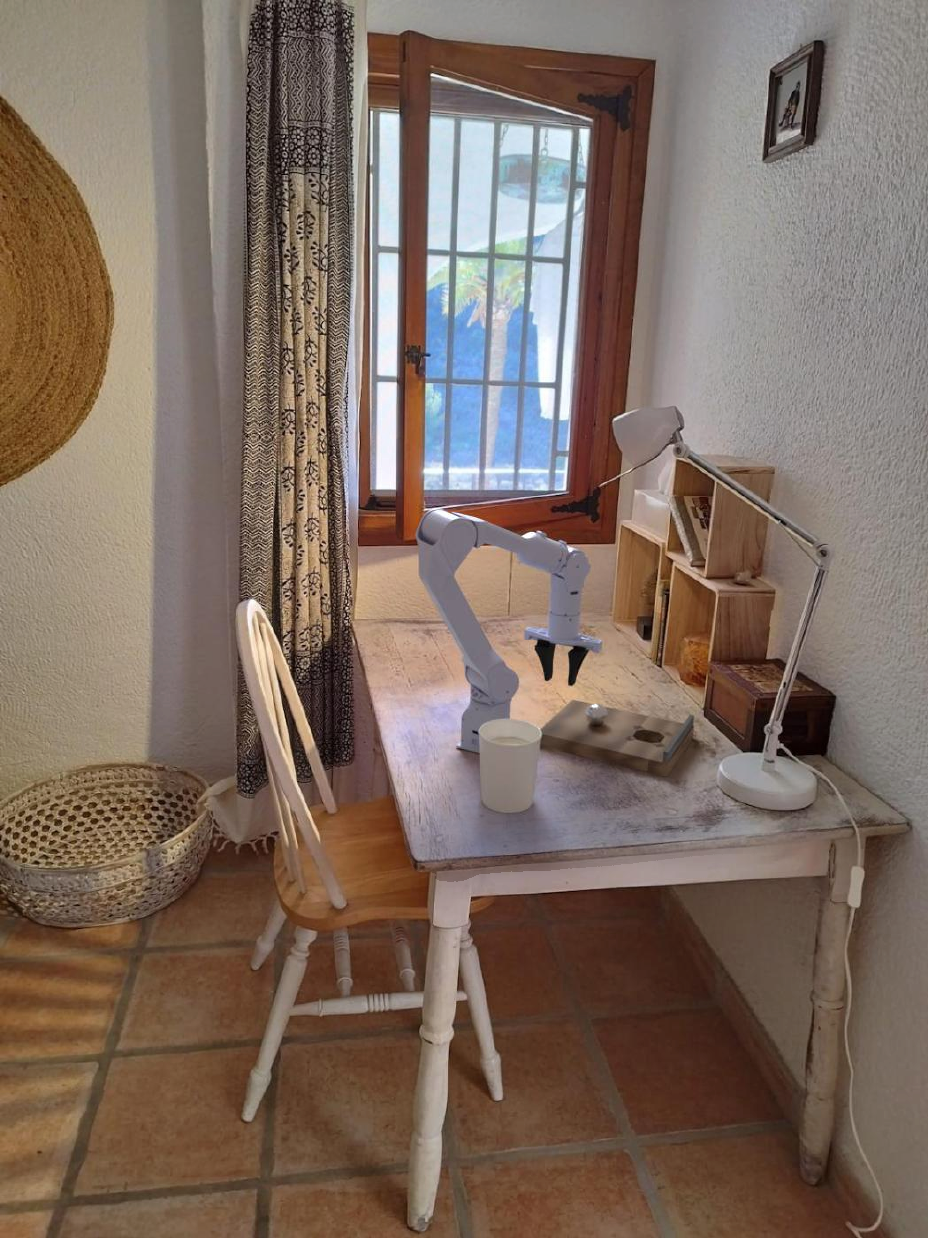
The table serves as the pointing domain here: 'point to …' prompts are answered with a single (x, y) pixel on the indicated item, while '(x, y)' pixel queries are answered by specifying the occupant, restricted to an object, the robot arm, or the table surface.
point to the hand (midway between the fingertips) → (560, 681)
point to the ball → (596, 714)
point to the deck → (619, 738)
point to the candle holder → (508, 764)
